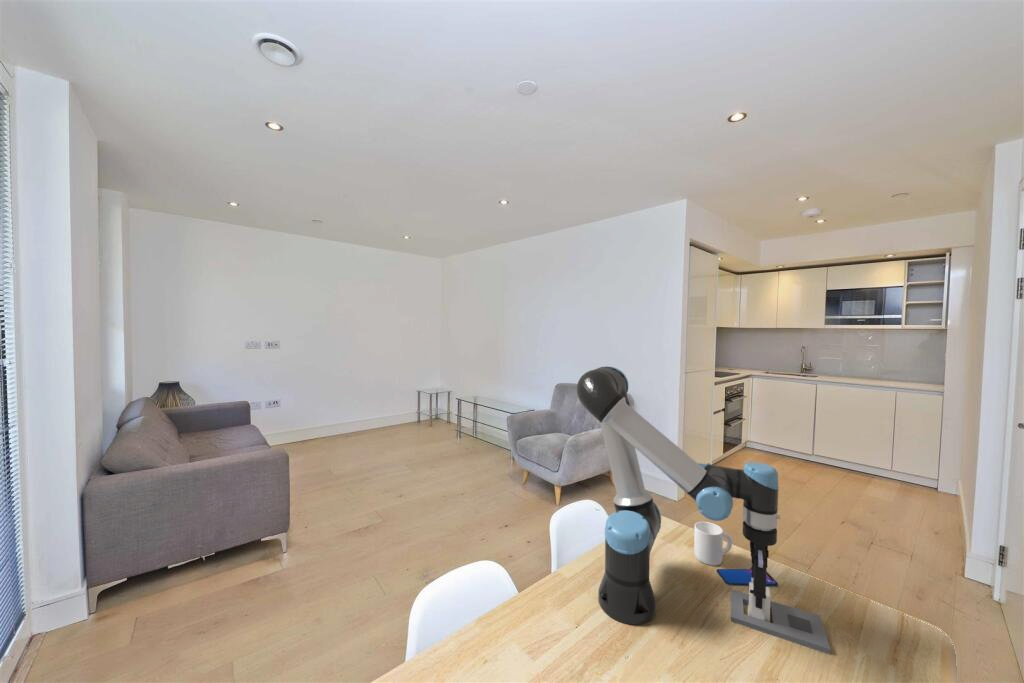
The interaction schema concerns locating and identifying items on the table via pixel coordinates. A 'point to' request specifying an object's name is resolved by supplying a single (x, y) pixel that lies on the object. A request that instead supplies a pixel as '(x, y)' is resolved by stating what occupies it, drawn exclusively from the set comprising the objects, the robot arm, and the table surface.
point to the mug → (710, 543)
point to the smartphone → (742, 577)
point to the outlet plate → (783, 623)
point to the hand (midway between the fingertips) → (757, 610)
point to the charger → (767, 603)
